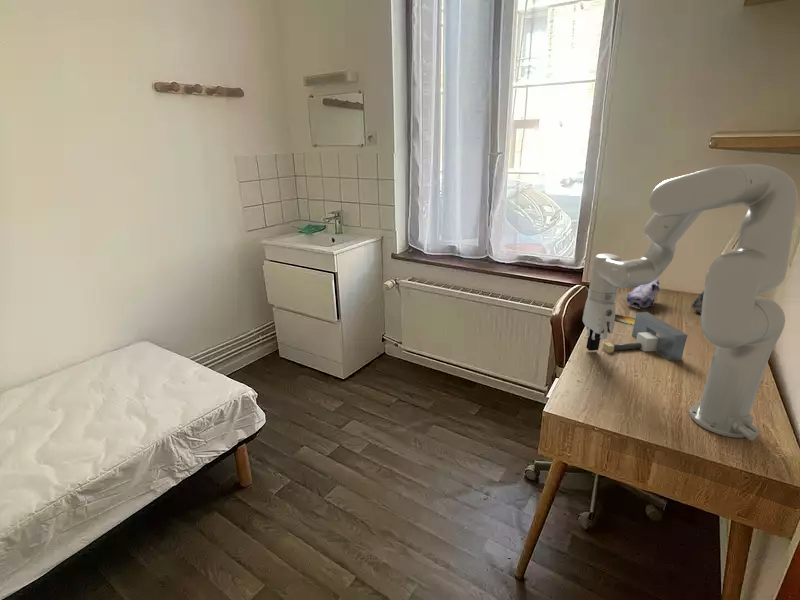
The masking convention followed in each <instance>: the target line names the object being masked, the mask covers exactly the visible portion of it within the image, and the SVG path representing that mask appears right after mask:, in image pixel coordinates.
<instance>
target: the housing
mask: <svg viewBox="0 0 800 600" xmlns="http://www.w3.org/2000/svg"><path fill="white" fill-rule="evenodd" d="M634 318H635V323H634V326H633V327H632V328H633V329H632V332H631V336H632V337H633V336H634V337H633V338H635V340H636V339H637V334H638V333H642V332H651V333H653V334H655V335H656V336H657V334H658V335H659V336H658V337H659V340H658V344H657V349H656V351H655V353H657V354H659V355H660V356H661V357H663V358H664V359H666V360H667V361H669V362H670V361H671V362H672V361H681V360H682V358H683V355H684V354H683V353H684V350H685V347H686V346H685V345H686V342H687V339H688V334H687V333H685V332H683V331H682V330H680V329H679V328H677V327H675V326H673V325H671V324H669V323H667V322H666V321H664V320H662V319H660V318H659V317H657V316H655V315H653V314H652V313H650V312H648V311H642V312H639V311H638V312H636V314H635V317H634Z"/></svg>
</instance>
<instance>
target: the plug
mask: <svg viewBox="0 0 800 600" xmlns="http://www.w3.org/2000/svg"><path fill="white" fill-rule="evenodd" d="M658 340H659V336H658V335H657V334H656V335H655V334H653V333H651V332H642V333H638V334H637V339H636V338H635V342H633V343H618V344H617V343H615V344H612V343H611V342H610V341H609V342H603V347H602V350H604V351H605V352H606V353H609V354H610V353H614V351H620V350H622V351H623V350H624V351H625V350H635V349H636V350H639V349H640V350H641V351H643V352H654V351H655V352H656V349H657V344H658Z"/></svg>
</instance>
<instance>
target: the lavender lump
mask: <svg viewBox="0 0 800 600" xmlns="http://www.w3.org/2000/svg"><path fill="white" fill-rule="evenodd" d="M657 291H658V294H657V296H656V292H657ZM661 291H662V290H661V286H660V280H659V279H658V278H657V279H655V280H654V281H653V282H651V283H649V284H645V285H639V286H634V288H633V290H632V291H630V292H628V294H627V296H626V301H627V303H628V304H629V305H630V307H632V308H635V309H639V310H641V308H644V309H645V308H646V309H647V308H649V307H653V306H655V300H656V299H658V297H659V295H660V294H661Z"/></svg>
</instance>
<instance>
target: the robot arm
mask: <svg viewBox="0 0 800 600" xmlns="http://www.w3.org/2000/svg"><path fill="white" fill-rule="evenodd" d="M648 200H649V201H648V202H649V208H650V210H651V211H652V212H653V214H652V216H651V217H650V218H649V220H647V222H646V223H645V225H644V227H643V232H644V235H645V236H646V238H648V240H650V241H651V244H650V245H649V247H648V248H647V249H646V251H645V252H644V253H643V255H642V256H641V257H640V258H635V259H630V260H622V258H621V257H620V256H619V255H617V254H613V253H598V254H597V255H595V257H594V258H593V263H592V269H591V275H590V281H589V288H588V291H587V292H588V293H587V298H586V301H585V305H584V309H583V314H582V322H583V324H584V326H585V328H586V330H587V341H586V346H585V347H586V349H587V350H588V351H590V352H591V351H599V348H600V343H601V340H607V339H608V334H613V333H614V327H615V323H616V322H615V314H616V303H615V300H616V296H617V295H616V294H617V290H618V289H623V290H624V289H629V288H633V287H634V288H635V287H636V286H639V285H645V284H649V283H651V282H653V281H654V280H655V279H658V278H659V277H660V276H661V274H663V272H665V270H666V269H667V268H668V267H669V265H670V264H671V263H672V261H673V260H674V259H673V258H674V256H675V253H676V247H677V245H676V244H677V243H678V241H679V240H680V239H681V238H682V237H683V236H684V234H685V233H686V232H688V229H689V228H690V227H692V225H693V223H694V222H695V221H696V220H697V219H698V218H699V217H700V216H701V215H702V214H703V212H704V211H708V210H713V209H714V210H715V209H721V208H722V209H723V208H729V207H730V208H731V207H739V206H745V207H747V211H746V214H745V216H744V218H743V219H742V222H741V224H740V229H739V236H738V241H737V246H736V250H735V251H730V252H727V253H725V254H722V255H720V256H719V257H717V258H716V259H714V260H713V262H712V263H711V264H710V266H709V268H708V270H707V272H706V276H705V281H704V289H703V291H704V296H703V304H702V312H701V314H700V326H701V331H702V333H703V335H704V337H705V338H706V339H707V341H708V342H709V343H711V344H712V345H714V346H716V347H715V350H714V353H713V356H712V359H711V364H710V366H709V370H708V374H707V378H706V380H705V383H704V387H703V391H702V395H701V398H700V400H699V402H697V403H694V404H692V405H691V407H690V408H689V412H688V413H689V416H690V418H691V420H692V421H694V422H695V423H696V424H697V425H699V426H700V427H702V428H704V429H706V430H707V431H710V432H712V433H714V434H717V435H720V436H723V437H728V438H736V439H737V438H738V439H740V438H741V439H743V438H746V439H748V440H749V441H754V440H755V439H756V438H757V437H758V435H760V434H761V433H762V431H761V429H759V428H758V427H756V426H755V425H754V423H753V420H754V416H753V415H752V414H751V411H752V408H753V405H754V403H755V399H756V396H757V393H758V390H759V388H760V385H761V382H762V379H763V377H764V374H765V371H766V367H767V364H768V363H769V359H770V356H771V354H772V351H773V350H774V347H776V344H777V343H778V340H779V339H780V338H781V335H782V333H783V331H784V328H785V326H786V325H785V323H786V315H785V312H784V310H783V308H782V307H781V305H779V303H777V302H776V301H774V300H773V299H771V298H768V297H763V296H757V295H758V294H761V293H765V292H768V291H772V290H774V289H776V288H778V287H779V286H780V285H782V283H783V282H784V281H785V279H786V275H787V270H788V264H789V257H790V252H791V244H792V238H793V231H794V230H793V229H794V225H795V219H796V214H797V210H798V203H799V201H798V200H799V194H798V188H797V185H796V183H795V181H794V180H793V179H792V177H791V176H789V174H788V173H786V172H785V171H783V170H781V169H779V168H778V167H774V166H771V165H768V164H767V165H766V164H761V163H757V164H756V163H747V164H746V163H745V164H742V163H741V164H729V165H728V164H727V165H719V166H718V165H717V166H713V167H709V168H705V169H701V170H699V171H695V172H691V173H688V174H684V175H681V176H676V177H673V178H668V179H665V180H663V181H662V182H660V183H659V184H657V185H656V186H655V187H654V189H653V190H652V191H651V193H650V196H649V199H648Z"/></svg>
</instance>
